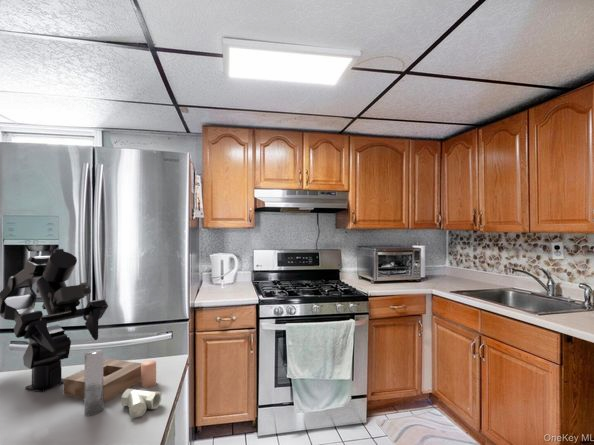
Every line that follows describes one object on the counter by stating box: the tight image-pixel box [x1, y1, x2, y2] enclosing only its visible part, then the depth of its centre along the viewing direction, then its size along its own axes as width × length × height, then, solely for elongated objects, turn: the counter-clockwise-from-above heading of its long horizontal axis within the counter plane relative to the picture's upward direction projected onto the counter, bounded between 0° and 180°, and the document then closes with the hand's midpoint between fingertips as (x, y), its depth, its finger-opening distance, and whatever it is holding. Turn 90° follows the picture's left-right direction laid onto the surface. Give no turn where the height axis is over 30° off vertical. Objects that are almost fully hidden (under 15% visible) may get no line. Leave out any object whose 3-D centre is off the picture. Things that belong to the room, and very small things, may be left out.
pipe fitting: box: [120, 388, 162, 419], centre depth 74 cm, size 8×4×7 cm
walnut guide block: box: [63, 358, 143, 403], centre depth 86 cm, size 13×13×4 cm
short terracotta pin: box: [140, 360, 157, 389], centre depth 86 cm, size 4×4×6 cm
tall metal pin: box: [84, 349, 104, 416], centre depth 74 cm, size 4×4×13 cm
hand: (76, 344), depth 78 cm, fingers open, 9 cm apart
